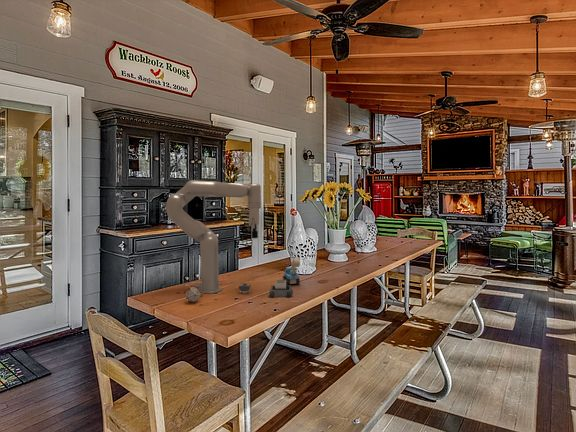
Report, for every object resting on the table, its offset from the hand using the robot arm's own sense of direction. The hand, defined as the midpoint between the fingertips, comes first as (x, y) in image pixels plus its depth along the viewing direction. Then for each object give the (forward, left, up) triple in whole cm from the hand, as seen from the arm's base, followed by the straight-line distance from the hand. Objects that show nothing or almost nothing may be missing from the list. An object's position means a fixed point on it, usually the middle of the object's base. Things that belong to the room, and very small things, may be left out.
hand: (254, 237), depth 213 cm
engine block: (+15, -11, -28) cm, 34 cm away
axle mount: (-5, -9, -29) cm, 31 cm away
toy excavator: (+21, +7, -29) cm, 37 cm away
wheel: (-5, -9, -27) cm, 29 cm away
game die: (-29, -25, -29) cm, 48 cm away
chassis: (+15, -11, -29) cm, 35 cm away
